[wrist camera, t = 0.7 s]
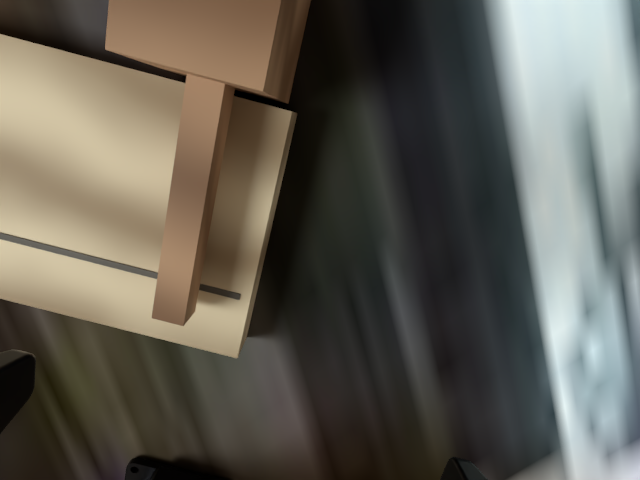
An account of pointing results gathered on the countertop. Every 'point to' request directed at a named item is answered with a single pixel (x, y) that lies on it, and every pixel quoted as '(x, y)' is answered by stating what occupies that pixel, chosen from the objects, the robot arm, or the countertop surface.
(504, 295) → the countertop surface
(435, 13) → the countertop surface
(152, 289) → the board
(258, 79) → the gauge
